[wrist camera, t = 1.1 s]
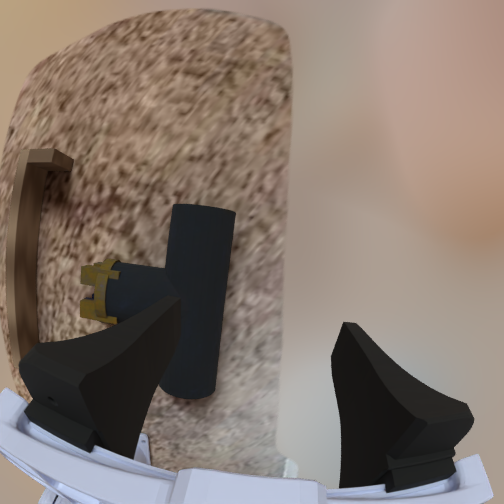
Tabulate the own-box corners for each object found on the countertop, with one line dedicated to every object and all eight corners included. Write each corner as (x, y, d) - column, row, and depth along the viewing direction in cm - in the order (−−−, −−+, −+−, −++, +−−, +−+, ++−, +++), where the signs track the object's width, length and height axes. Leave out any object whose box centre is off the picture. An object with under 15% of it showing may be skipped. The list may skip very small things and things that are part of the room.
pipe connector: (81, 380, 19) (86, 193, 18) (100, 357, 24) (108, 201, 23) (216, 402, 20) (239, 210, 20) (214, 373, 26) (232, 215, 25)
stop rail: (62, 363, 23) (45, 379, 19) (32, 354, 22) (14, 367, 18) (73, 159, 22) (54, 148, 18) (41, 159, 22) (21, 149, 18)
